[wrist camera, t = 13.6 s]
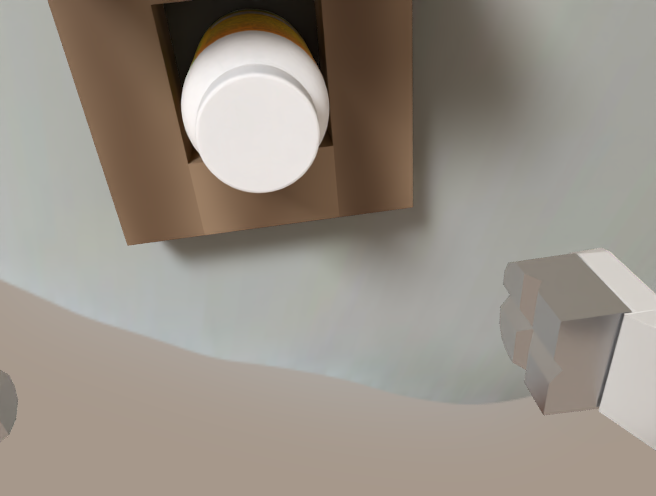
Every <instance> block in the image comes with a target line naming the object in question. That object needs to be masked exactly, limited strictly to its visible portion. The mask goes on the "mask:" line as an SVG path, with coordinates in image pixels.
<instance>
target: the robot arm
mask: <svg viewBox="0 0 656 496" xmlns="http://www.w3.org/2000/svg"><path fill="white" fill-rule="evenodd" d="M503 285H504V287H505V288H506V290H507V291H508V293H509V294H510V296H509V297H508V298H507V299H506V300H505V302H504V303H503V304H502V305H501V306H500V321H499V324H500V330H501V337H502V341H503V344H504V346H505V349H506V351H507V353H508V355H509V357H510V359H511V360H512V362H513V363H515V364H517V365H518V366H520V367H522V368H524V369H525V370H526V374H525V381H524V383H525V385H526V386H527V388H528V390H529V392H530V393H531V395H532V397H533V398H534V400H535V402H536V403H537V405H538V407H539V408H540V410H541V412H542V413H543V415H550V414H557V413H566V412H574V411H582V410H590V409H598V408H599V412H600V413H602V414H603V415H605V416H606V417H608V418H609V419H611V420H612V421H613V422H615V423H616V424H618V425H619V426H621V427H622V428H624V429H625V430H626V431H628V432H629V433H631V434H632V435H634V436H635V437H637V438H638V439H640V440H641V441H642V442H644V443H645V444H647V445H648V446H650V447H651V448H653V449H654V450H656V294H655V293H654V292H653V291H652V290H651V289H650V288H649V287H648V286H646V285H645V284H644V283H643V282H642V281H641V280H640V279H639V278H638V277H637V276H636V275H635V274H634V273H632V272H631V271H630V270H629V269H628V268H627V267H626V266H625V265H624V264H623V263H622V262H621V261H620V260H619V259H617V258H616V257H615V256H614V255H613V254H612V253H611V252H610V251H608V250H606V249H603V248H596V249H590V250H584V251H578V252H572V253H569V254H565V255H558V256H551V257H544V258H537V259H530V260H523V261H516V262H509V263H508V264H507V267H506V269H505V271H504V279H503ZM17 404H18V399H17V394H16V390H15V386H14V384H13V382H12V380H11V379H10V376H9V375H8V374H6V373H5V372H3V371H1V370H0V442H1V441H2V440H4V439H5V438H6V437H7V436H8V435H9V434H10V431H11V429H12V427H13V425H14V422H15V420H16V414H17Z"/></svg>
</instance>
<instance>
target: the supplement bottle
mask: <svg viewBox="0 0 656 496" xmlns="http://www.w3.org/2000/svg"><path fill="white" fill-rule="evenodd" d="M181 112H182V118H183V123H184V127H185V130H186V132H187V135H188V137H189V139H190V141H191V143H192V144H193V146H194V147H195V149H196V150H197V151H198V153H199V154H200V156H201V158H202V160H203V162H204V163H205V165H206V166H207V168H208V169H209V170H210V171H211V172H212V173H213V174H214V175H215V176H216V177H217V178H218V179H219V180H221V181H222V182H224V183H225V184H227V185H229V186H231V187H233V188H235V189H238V190H241V191H245V192H251V193H267V192H273V191H276V190H280V189H283V188H285V187H287V186H289V185H291V184H292V183H294V182H295V181H297V180H298V179H299V178H300V177H302V176H303V175H304V174H305V172H306V171H307V170H308V169H309V167H310V166H311V164H312V163H313V161H314V159H315V157H316V154H317V151H318V148H319V145H320V144H321V142H322V140H323V137H324V135H325V132H326V129H327V125H328V119H329V98H328V92H327V88H326V85H325V82H324V79H323V76H322V74H321V72H320V70H319V68H318V66H317V64H316V62H315V61H314V59H313V57H312V55H311V53H310V51H309V49H308V47H307V45H306V43H305V41H304V40H303V38H302V36H301V35H300V34H299V32H298V31H297V30H296V29H295V28H294V27H293V26H292V25H291V24H290V23H289V22H288V21H286V20H285V19H284V18H282V17H280V16H279V15H277V14H274V13H272V12H269V11H266V10H261V9H240V10H236V11H233V12H230V13H228V14H226V15H224V16H222V17H221V18H219V19H218V20H217V21H215V22H214V23H213V24H212V25H211V26H210V27H209V28H208V29H207V31H206V32H205V33H204V35H203V37H202V39H201V40H200V42H199V44H198V47H197V50H196V53H195V56H194V58H193V61H192V64H191V66H190V68H189V71H188V73H187V76H186V79H185V82H184V86H183V91H182V98H181Z"/></svg>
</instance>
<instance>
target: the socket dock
mask: <svg viewBox="0 0 656 496" xmlns="http://www.w3.org/2000/svg"><path fill="white" fill-rule="evenodd" d="M181 1H191V0H48V3H49V6H50V9H51V12H52V15H53V18H54V21H55V24H56V27H57V30H58V33H59V36H60V40H61V43H62V46H63V49H64V52H65V55H66V58H67V61H68V64H69V67H70V70H71V73H72V76H73V79H74V82H75V86H76V89H77V92H78V95H79V98H80V101H81V104H82V107H83V110H84V113H85V116H86V119H87V122H88V125H89V128H90V132H91V135H92V138H93V141H94V144H95V147H96V150H97V153H98V156H99V159H100V162H101V165H102V168H103V171H104V174H105V177H106V181H107V184H108V187H109V190H110V193H111V196H112V199H113V202H114V205H115V208H116V211H117V214H118V217H119V220H120V223H121V227H122V230H123V233H124V236H125V239H126V242H127V245H135V244H143V243H150V242H158V241H165V240H172V239H180V238H187V237H195V236H202V235H210V234H217V233H225V232H232V231H240V230H247V229H254V228H262V227H269V226H277V225H284V224H292V223H299V222H307V221H314V220H322V219H329V218H336V217H344V216H351V215H359V214H366V213H374V212H381V211H389V210H396V209H404V208H411V207H413V66H412V0H314V2H315V13H316V24H317V36H318V47H319V58H320V69H321V74H322V76H323V79H324V82H325V85H326V88H327V92H328V98H329V119H328V125H327V129H326V132H325V135H324V137H323V140H322V142H321V144H320V145H319V148H318V151H317V154H316V157H315V159H314V161H313V163H312V164H311V166H310V167H309V169H308V170H307V171H306V172H305V174H304V175H303V176H302V177H300V178H299V179H298V180H297V181H295V182H294V183H292V184H291V185H289V186H287V187H285V188H283V189H280V190H276V191H273V192H267V193H251V192H245V191H241V190H238V189H235V188H233V187H231V186H229V185H227V184H225V183H224V182H222V181H221V180H219V179H218V178H217V177H216V176H215V175H214V174H213V173H212V172H211V171H210V170H209V169H208V168H207V166H206V165H205V163H204V162H203V160H202V158H201V156H200V154H199V153H198V151H197V150H196V149H195V147H194V146H193V144H192V143H191V141H190V139H189V137H188V135H187V132H186V130H185V127H184V123H183V118H182V112H181V98H182V91H183V90H182V85H181V81H180V77H179V72H178V68H177V63H176V59H175V54H174V50H173V45H172V41H171V36H170V32H169V28H168V23H167V19H166V14H165V10H164V5H163V3H172V2H181Z"/></svg>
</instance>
